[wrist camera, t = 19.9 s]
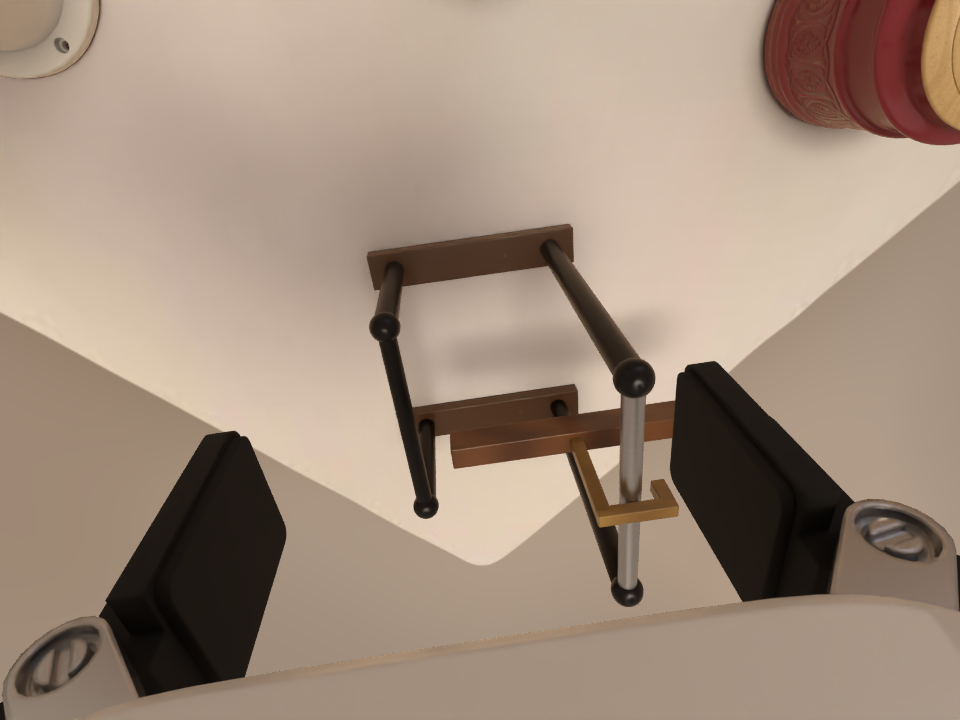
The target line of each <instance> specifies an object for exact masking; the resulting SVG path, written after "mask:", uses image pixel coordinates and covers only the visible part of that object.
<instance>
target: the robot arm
mask: <svg viewBox="0 0 960 720" xmlns="http://www.w3.org/2000/svg"><path fill="white" fill-rule="evenodd" d="M98 14H99V0H0V76H4V77H10V78H36V77H44V76H50V75H52V74H55V73H58V72H60V71H63V70H65V69H66V68H68V67H69V66H71V65H72V64H73V63H75V62H76V61H77V60H78V59H79V58H80V57H81V56H82V54H83V53H84V52H85V51H86V49H87V48H88V47H89V44H90V42H91V40H92V37H93V35H94V33H95V31H96V25H97V20H98ZM66 43H68V44H69V49H68V48H67V46H66ZM670 471H671V477H672V480H673V483H674V485H675V486H676V488H677V490H678V492H679V493H680V495H681V496H682V498H683V500H684V502H685V503H686V505H687V507H688V509H689V510H690V512H691V514H692V516H693V517H694V519H695V521H696V523H697V524H698V526H699V528H700V529H701V531H702V533H703V534H704V536H705V538H706V539H707V541H708V543H709V545H710V546H711V548H712V550H713V552H714V553H715V555H716V557H717V559H718V560H719V562H720V564H721V565H722V567H723V569H724V571H725V572H726V574H727V576H728V578H729V579H730V581H731V583H732V584H733V586H734V588H735V589H736V591H737V593H738V595H739V596H740V598H741V600H742V602H740V603H732V604H725V605H717V606H710V607H701V608H694V609H687V610H680V611H673V612H666V613H660V614H653V615H646V616H639V617H632V618H625V619H618V620H612V621H604V622H598V623H591V624H585V625H577V626H570V627H564V628H557V629H550V630H544V631H537V632H530V633H524V634H517V635H510V636H504V637H497V638H491V639H484V640H477V641H471V642H464V643H458V644H451V645H445V646H439V647H432V648H425V649H419V650H412V651H406V652H399V653H393V654H387V655H380V656H374V657H367V658H361V659H355V660H348V661H342V662H336V663H330V664H324V665H317V666H311V667H304V668H298V669H292V670H285V671H279V672H272V673H267V674H261V675H255V676H249V677H245V674H246V671H247V668H248V664H249V661H250V658H251V654H252V651H253V648H254V644H255V641H256V638H257V634H258V631H259V628H260V625H261V621H262V618H263V614H264V611H265V608H266V605H267V601H268V597H269V595H270V591H271V588H272V585H273V581H274V578H275V575H276V571H277V568H278V564H279V561H280V558H281V555H282V551H283V548H284V545H285V541H286V527H285V524H284V521H283V519H282V516H281V514H280V512H279V510H278V507H277V504H276V502H275V500H274V497H273V495H272V493H271V490H270V488H269V486H268V483H267V481H266V479H265V476H264V474H263V471H262V469H261V467H260V464H259V462H258V460H257V457H256V455H255V452H254V450H253V448H252V445H251V443H250V441H249V439H248V438H247V437H246V436H240V435H239V433H237V432H236V431H229V432H222V433H215V434H209V435H206V436H205V437H204V438H203V440H202V441H201V443H200V445H199V446H198V448H197V450H196V451H195V453H194V455H193V456H192V458H191V460H190V461H189V463H188V465H187V466H186V468H185V470H184V471H183V473H182V474H181V476H180V478H179V479H178V481H177V483H176V485H175V486H174V488H173V489H172V491H171V493H170V494H169V496H168V498H167V499H166V501H165V503H164V504H163V506H162V508H161V509H160V511H159V513H158V514H157V516H156V518H155V519H154V521H153V523H152V524H151V526H150V527H149V529H148V531H147V532H146V534H145V536H144V537H143V539H142V541H141V542H140V544H139V546H138V547H137V549H136V551H135V553H134V554H133V556H132V557H131V559H130V561H129V562H128V564H127V566H126V567H125V569H124V571H123V572H122V574H121V576H120V577H119V579H118V581H117V582H116V584H115V585H114V587H113V589H112V590H111V592H110V594H109V595H108V597H107V599H106V602H107V604H106V605H105V607H104V609H103V610H102V612H101V614H100V615H99V617H96V616H89V617H80V618H77V619H74V620H71V621H68V622H65V623H64V624H62V625H60V626H58V627H56V628H54V629H52V630H50V631H49V632H47V633H46V634H45V635H43V636H42V637H40V638H39V639H38V640H36V641H35V642H34V643H33V644H32V645H31V646H30V647H29V648H28V649H26V650H25V651H24V652H23V653H22V654H21V656H20V657H19V658H18V659H17V660H16V662H15V663H14V664H13V666H12V667H11V668H10V670H9V672H8V674H7V676H6V679H5V680H4V683H3V692H2V697H3V702H1V703H0V720H960V556H959V555H957V554H956V548H955V545H954V542H953V539H952V538H951V536H950V535H949V534H948V532H947V531H946V530H945V528H943V527H942V526H941V525H940V524H939V523H937V522H936V521H935V520H933V519H932V518H931V517H929V516H927V515H925V514H924V513H922V512H920V511H918V510H917V509H914V508H912V507H909V506H906V505H903V504H901V503H897V502H892V501H887V500H879V499H876V500H875V499H867V500H862V501H858V502H854V501H853V500H852V499H851V498H850V497H849V496H848V495H847V494H846V493H845V492H844V491H843V490H842V489H841V488H840V487H839V486H838V485H837V484H836V483H835V482H834V481H833V480H832V479H831V477H830V476H829V475H828V474H827V473H826V472H825V471H824V470H823V469H822V468H821V467H820V466H819V465H818V464H817V463H816V462H815V461H814V460H813V459H812V458H811V457H810V456H809V455H808V454H807V453H806V452H805V451H804V450H803V449H802V448H801V446H800V445H799V444H797V442H796V441H794V439H793V438H792V437H791V436H790V435H789V434H788V433H787V432H786V431H785V430H784V429H783V428H782V427H781V426H780V425H779V424H778V423H777V422H776V421H775V420H774V419H773V418H771V417H770V416H768V414H767V413H766V412H765V411H764V410H763V409H762V408H761V407H760V406H759V405H758V404H757V403H756V402H755V401H754V400H753V399H752V398H751V397H750V396H749V395H748V394H747V393H746V392H745V391H744V390H743V388H742V387H741V386H740V385H739V384H737V382H736V381H735V380H734V379H733V378H732V377H731V376H730V375H729V374H728V373H727V372H726V371H725V370H724V369H723V368H722V367H721V366H720V365H719V364H718V363H717V362H715V361H711V362H704V363H697V364H691V365H688V366H686V368H685V372H682V373H679V374H678V377H677V386H676V398H675V411H674V423H673V436H672V448H671V462H670Z"/></svg>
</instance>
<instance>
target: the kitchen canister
mask: <svg viewBox="0 0 960 720" xmlns="http://www.w3.org/2000/svg"><path fill="white" fill-rule="evenodd" d="M764 58H765V70H766V75H767V79H768V82H769V85H770V88H771V90H772V92H773V94H774V96H775V97H776V99H777V100H778V102H779V103H780V104H781V105H782V106H783V107H784V108H785V109H786V110H787V111H789V112H790V113H791V114H793V115H795V116H796V117H798V118H799V119H801V120H803V121H805V122H807V123H809V124H812V125H815V126H820V127H826V128H834V129H842V128H850V129H857V130H863V131H868V132H870V133H873V134H875V135H878V136H882V137H887V138H910V139H913V140H915V141H918V142H921V143H925V144H930V145H954V144H960V0H777V2H776V4H775V6H774V9H773V12H772V15H771V18H770V21H769V25H768V29H767V34H766V40H765V52H764Z"/></svg>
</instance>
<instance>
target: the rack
mask: <svg viewBox="0 0 960 720" xmlns="http://www.w3.org/2000/svg"><path fill="white" fill-rule="evenodd" d="M367 260H368V265H369V269H370V273H371V278H372V282H373V286H374V290H380V293H379V298H378V302H377V307H376V311H375V316H374V317H373V318H372V319H371V321H370V324H369V330H370V333H371V335H372V336H373V338H374V339H376V340H377V341H379V345H380V349H381V353H382V357H383V361H384V365H385V369H386V374H387V378H388V382H389V386H390V390H391V394H392V398H393V403H394V407H395V411H396V415H397V419H398V423H399V428H400V432H401V436H402V440H403V444H404V448H405V452H406V457H407V461H408V465H409V469H410V473H411V477H412V482H413V486H414V490H415V494H416V499H415V501H414V511H415V513H416V514H417V515H418V516H419V517H420V518H423V519H428V518H431V517H433V516H434V515H435V514H436V513H437V511H438V508H439V503H438V500H437V498H436V460H435V436H440V435H447V434H450V432H456V431H463V430H470V429H477V428H484V427H491V426H498V425H505V424H512V423H519V422H526V421H533V420H541V419H548V418H555V417H562V416H569V415H576V414H578V390H577V388H576V386H575V385H567V386H560V387H553V388H546V389H539V390H533V391H526V392H519V393H512V394H505V395H498V396H491V397H484V398H477V399H471V400H464V401H457V402H450V403H443V404H436V405H429V406H422V407H416V408H412V404H411V400H410V395H409V391H408V386H407V382H406V377H405V372H404V368H403V363H402V359H401V354H400V350H399V345H398V341H397V336H398V335H399V333H400V322H399V320H398V319H399V311H400V303H401V294H402V287H403V286H410V285H417V284H424V283H431V282H438V281H445V280H452V279H459V278H466V277H473V276H480V275H487V274H494V273H501V272H508V271H515V270H522V269H529V268H536V267H544V266H549V268H550V269H551V271H552V273H553V274H554V276H555V278H556V280H557V281H558V283H559V285H560V286H561V288H562V290H563V291H564V293H565V295H566V297H567V298H568V300H569V302H570V303H571V305H572V307H573V308H574V310H575V312H576V314H577V315H578V317H579V319H580V320H581V322H582V324H583V325H584V327H585V329H586V331H587V332H588V334H589V336H590V337H591V339H592V341H593V342H594V344H595V346H596V348H597V349H598V351H599V353H600V354H601V356H602V358H603V359H604V361H605V363H606V365H607V366H608V368H609V370H610V371H611V373H612V375H613V383H614V386H615V388H616V390H617V391H618V392H619V393H620V394H621V414H620V472H619V475H620V476H619V477H620V478H619V504H624V503H631V502H638V501H641V490H642V469H643V448H644V447H643V445H644V426H645V405H646V395H647V394H648V393H649V392H650V391H651V390H652V388H653V387H654V384H655V373H654V370H653V368H652V367H651V365H650V364H649V363H648V362H646V361H645V360H643V359H641V358H640V357H639V356H638V354H637V353H636V351H635V350H634V349H633V347H632V346H631V345H630V343H629V342H628V340H627V339H626V338H625V336H624V335H623V333H622V332H621V331H620V329H619V328H618V326H617V325H616V324H615V322H614V321H613V319H612V318H611V317H610V315H609V314H608V312H607V311H606V310H605V308H604V307H603V305H602V304H601V303H600V301H599V300H598V298H597V297H596V296H595V294H594V293H593V291H592V290H591V289H590V287H589V286H588V284H587V283H586V282H585V280H584V279H583V277H582V276H581V275H580V273H579V272H578V270H577V269H576V268H575V266H574V265H573V263H572V262H574V254H573V228H572V227H571V225H570V224H566V225H558V226H551V227H544V228H537V229H530V230H523V231H516V232H509V233H502V234H495V235H487V236H480V237H473V238H466V239H459V240H452V241H445V242H438V243H431V244H423V245H416V246H409V247H402V248H395V249H388V250H381V251H374V252H368V255H367ZM566 455H567V458H568V461H569V463H570V466H571V469H572V472H573V475H574V478H575V481H576V483H577V486H578V489H579V492H580V495H581V497H582V500H583V503H584V506H585V509H586V512H587V515H588V517H589V520H590V523H591V526H592V529H593V532H594V535H595V538H596V540H597V543H598V546H599V549H600V552H601V555H602V557H603V560H604V563H605V566H606V569H607V572H608V575H609V577H610V580H611V583H612V584H611V592H612V595H613V597H614V599H615V600H616V601H617V602H618V603H619V604H620V605H622V606H625V607H633V606H635V605H637V604H638V603H639V602H640V601H641V600H642V597H643V586H642V584H641V582H640V581H639V579H638V554H639V534H640V522H635V523H628V524H621V525H619V529H618V532H617V530H616V527H615V525H614V526H607V527H599V526H598V523H597V521H596V518H595V515H594V512H593V509H592V506H591V504H590V501H589V498H588V495H587V492H586V489H585V487H584V484H583V481H582V478H581V475H580V473H579V470H578V467H577V464H576V461H575V458H574V456H573V453H572V452H569V453H566Z"/></svg>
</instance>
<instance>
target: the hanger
mask: <svg viewBox="0 0 960 720" xmlns="http://www.w3.org/2000/svg"><path fill="white" fill-rule="evenodd" d="M674 411H675V401H668V402H661V403H654V404H647V405H645V426H644V442H647V441H654V440H661V439H668V438H672V436H673V423H674ZM620 414H621V408H618V409H611V410H604V411H597V412H590V413H583V414H576V415H569V416H562V417H555V418H548V419H541V420H533V421H526V422H519V423H512V424H505V425H498V426H491V427H484V428H477V429H470V430H463V431H456V432H450V447H451V455H452V461H453V466H454V469H457V468H464V467H471V466H478V465H485V464H492V463H499V462H506V461H513V460H520V459H527V458H534V457H541V456H548V455H555V454H562V453H569V452H572V453H573V456H574V458H575V461H576V464H577V467H578V470H579V473H580V475H581V478H582V481H583V484H584V487H585V489H586V492H587V495H588V498H589V501H590V504H591V506H592V509H593V512H594V515H595V518H596V521H597V523H598V526H599V527H607V526H614V525H621V524H628V523H635V522H641V521H648V520H655V519H662V518H670V517H677V516H678V510H679V506H678V504H677V502H676V500H675V498H674V496H673V494H672V493H671V491H670V489H669V487H668V485H667V484H666V482H665V480H664V479H660V480H654V481H651V489H650V491H651V493H652V495H653V497H654V499H652V500H646V501H638V502H631V503H624V504H617V505H610V506H609V504H608V502H607V499H606V497H605V494H604V492H603V489H602V487H601V484H600V482H599V479H598V476H597V474H596V471H595V469H594V466H593V464H592V461H591V459H590V456H589V454H588V451H587V450H590V449H597V448H604V447H612V446H619V445H620Z"/></svg>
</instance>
